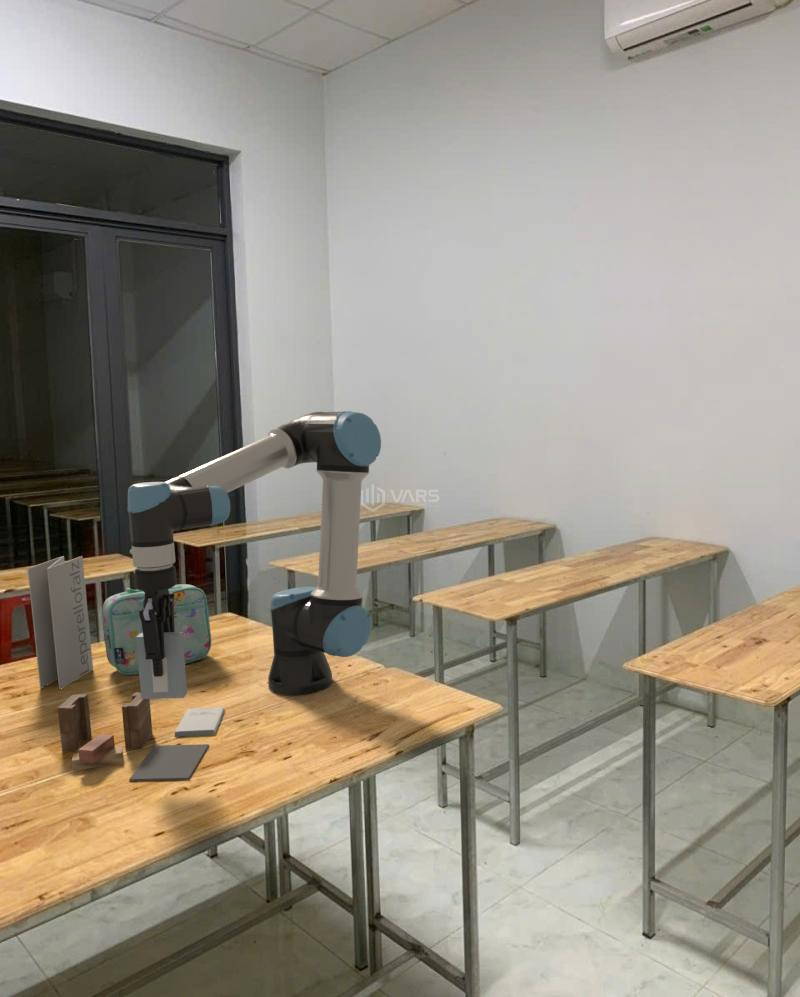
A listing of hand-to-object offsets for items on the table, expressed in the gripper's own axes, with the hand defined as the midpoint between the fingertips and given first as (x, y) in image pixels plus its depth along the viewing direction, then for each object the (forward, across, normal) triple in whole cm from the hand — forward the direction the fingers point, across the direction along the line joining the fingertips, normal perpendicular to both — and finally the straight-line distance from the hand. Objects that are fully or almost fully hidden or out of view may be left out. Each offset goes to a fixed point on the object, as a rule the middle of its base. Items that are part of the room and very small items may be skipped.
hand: (164, 688), depth 155 cm
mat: (+15, 0, 0) cm, 15 cm away
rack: (+15, -10, -16) cm, 24 cm away
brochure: (+15, -48, -41) cm, 65 cm away
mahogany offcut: (+13, 0, -14) cm, 19 cm away
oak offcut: (+16, -1, -14) cm, 21 cm away
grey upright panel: (+2, 0, 0) cm, 2 cm away
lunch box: (+15, -56, -20) cm, 62 cm away
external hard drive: (+16, -19, +1) cm, 24 cm away
